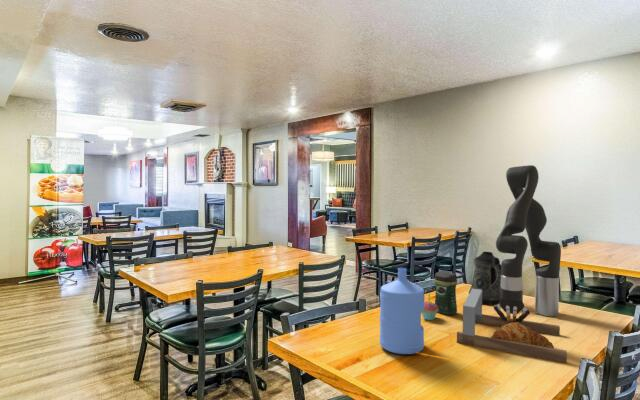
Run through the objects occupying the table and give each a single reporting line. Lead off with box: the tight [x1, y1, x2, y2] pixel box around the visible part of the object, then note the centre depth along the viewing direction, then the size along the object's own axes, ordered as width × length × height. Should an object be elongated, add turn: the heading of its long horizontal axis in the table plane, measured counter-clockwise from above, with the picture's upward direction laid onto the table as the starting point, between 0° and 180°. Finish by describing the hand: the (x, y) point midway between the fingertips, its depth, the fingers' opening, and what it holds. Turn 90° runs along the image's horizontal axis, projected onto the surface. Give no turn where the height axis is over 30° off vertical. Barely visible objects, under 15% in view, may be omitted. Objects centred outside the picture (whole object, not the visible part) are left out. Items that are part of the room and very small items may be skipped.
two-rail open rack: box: [456, 289, 568, 364], centre depth 141 cm, size 28×34×14 cm
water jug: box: [379, 267, 426, 355], centre depth 134 cm, size 16×16×28 cm
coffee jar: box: [434, 271, 458, 316], centre depth 172 cm, size 10×8×19 cm
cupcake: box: [421, 293, 439, 321], centre depth 164 cm, size 9×8×12 cm
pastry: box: [490, 322, 555, 349], centre depth 135 cm, size 21×13×8 cm, turn 84°
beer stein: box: [468, 251, 501, 306], centre depth 190 cm, size 16×19×25 cm
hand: (511, 331), depth 142 cm, fingers closed
